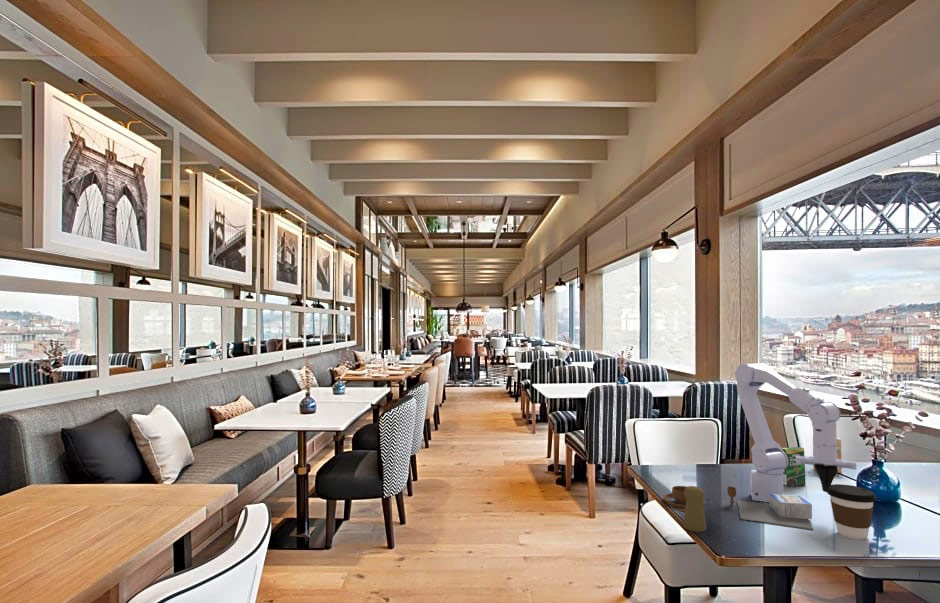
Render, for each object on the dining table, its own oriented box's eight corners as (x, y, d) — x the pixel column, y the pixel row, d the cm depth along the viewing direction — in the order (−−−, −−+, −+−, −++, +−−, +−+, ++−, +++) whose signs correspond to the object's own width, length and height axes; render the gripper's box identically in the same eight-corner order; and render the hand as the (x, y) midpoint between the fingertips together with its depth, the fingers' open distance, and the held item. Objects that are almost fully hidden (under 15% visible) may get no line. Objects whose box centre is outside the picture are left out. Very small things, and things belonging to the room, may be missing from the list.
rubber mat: (740, 519, 149) (740, 518, 149) (737, 501, 164) (737, 500, 164) (813, 530, 141) (813, 528, 141) (802, 510, 157) (802, 508, 157)
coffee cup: (856, 527, 144) (855, 483, 144) (889, 543, 133) (887, 496, 134) (818, 527, 144) (816, 483, 144) (847, 543, 133) (846, 496, 133)
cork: (705, 524, 145) (704, 485, 145) (707, 532, 139) (707, 491, 140) (682, 522, 147) (681, 483, 147) (683, 529, 141) (683, 489, 142)
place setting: (672, 493, 174) (671, 475, 174) (738, 506, 162) (737, 487, 162) (656, 508, 160) (656, 488, 160) (727, 523, 148) (727, 502, 148)
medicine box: (812, 504, 148) (779, 501, 150) (812, 520, 148) (779, 517, 150) (800, 495, 156) (769, 493, 158) (800, 510, 156) (769, 508, 157)
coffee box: (786, 487, 180) (785, 449, 180) (780, 484, 182) (779, 447, 183) (806, 485, 181) (805, 448, 182) (799, 483, 184) (798, 446, 185)
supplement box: (819, 472, 198) (818, 438, 199) (812, 468, 203) (812, 435, 204) (842, 473, 197) (841, 439, 198) (835, 470, 202) (835, 436, 202)
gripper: (798, 444, 151) (799, 491, 150) (858, 449, 145) (859, 498, 144) (794, 439, 157) (795, 484, 156) (852, 444, 151) (853, 491, 150)
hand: (825, 491), depth 151 cm, fingers closed
